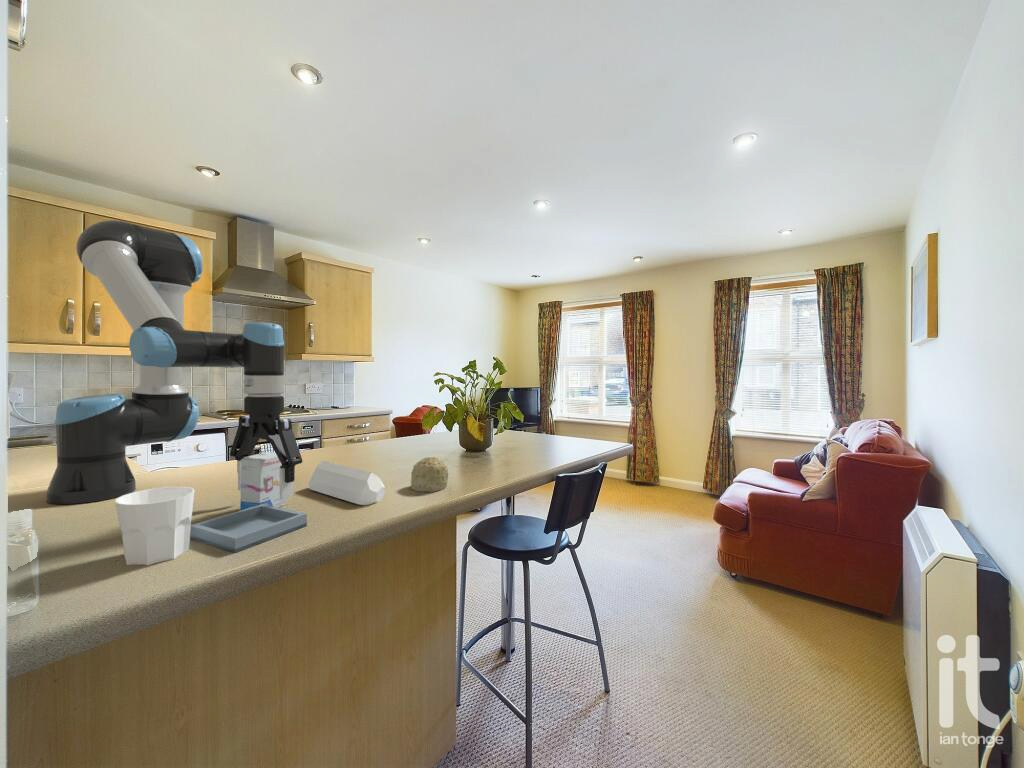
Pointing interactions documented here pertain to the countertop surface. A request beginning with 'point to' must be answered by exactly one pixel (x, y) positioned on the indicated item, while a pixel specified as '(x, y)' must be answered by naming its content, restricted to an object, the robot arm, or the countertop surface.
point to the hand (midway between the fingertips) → (265, 493)
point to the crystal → (347, 483)
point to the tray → (247, 527)
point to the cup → (155, 524)
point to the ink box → (260, 481)
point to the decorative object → (429, 475)
